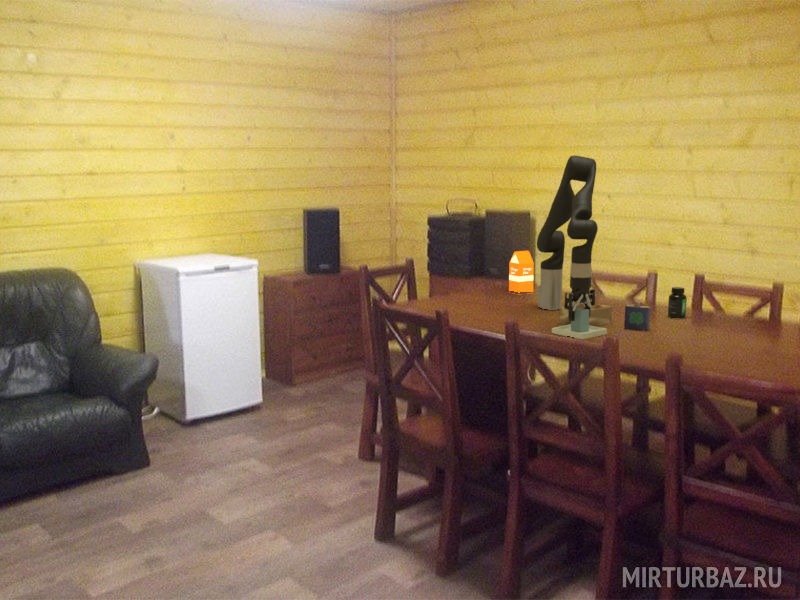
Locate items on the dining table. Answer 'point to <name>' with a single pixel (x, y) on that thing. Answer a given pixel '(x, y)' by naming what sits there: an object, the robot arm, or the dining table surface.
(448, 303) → the dining table surface
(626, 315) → the flask
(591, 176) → the robot arm
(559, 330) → the plate
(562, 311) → the crate
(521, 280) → the orange juice
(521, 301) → the dining table surface
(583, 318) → the block
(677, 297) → the supplement bottle
